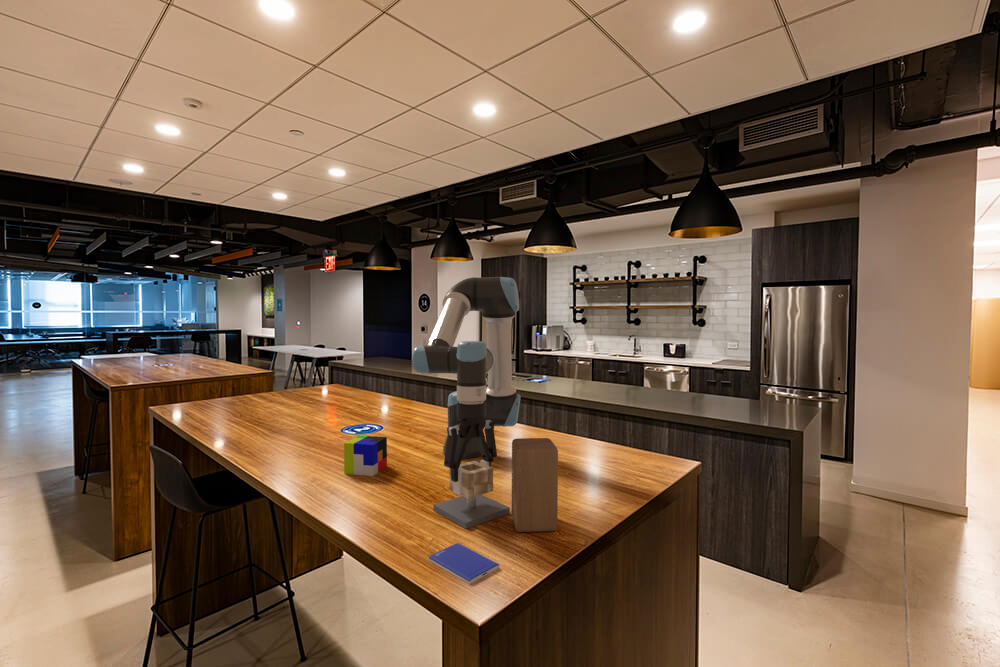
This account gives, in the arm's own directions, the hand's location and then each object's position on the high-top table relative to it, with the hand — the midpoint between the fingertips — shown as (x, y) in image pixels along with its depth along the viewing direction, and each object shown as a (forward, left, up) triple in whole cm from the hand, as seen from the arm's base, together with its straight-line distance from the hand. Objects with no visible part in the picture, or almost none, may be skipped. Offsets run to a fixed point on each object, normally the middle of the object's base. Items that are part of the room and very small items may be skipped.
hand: (471, 489), depth 121 cm
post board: (0, 0, -6) cm, 6 cm away
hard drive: (+17, +19, -7) cm, 26 cm away
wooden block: (-7, +15, -6) cm, 18 cm away
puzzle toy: (+6, -49, -6) cm, 50 cm away
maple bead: (0, 0, 0) cm, 0 cm away
